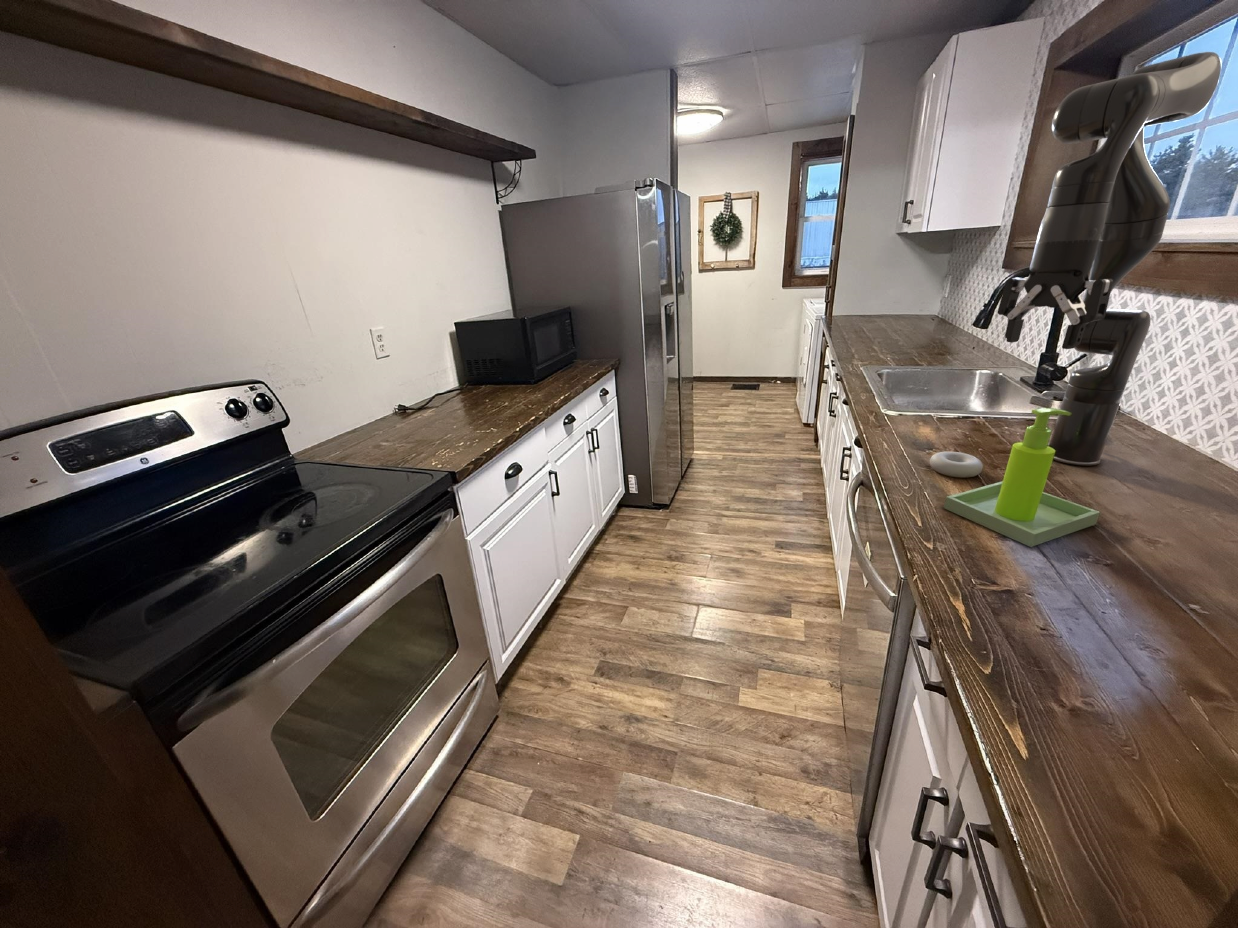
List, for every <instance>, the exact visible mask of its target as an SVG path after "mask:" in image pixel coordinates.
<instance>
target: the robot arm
mask: <svg viewBox="0 0 1238 928" xmlns="http://www.w3.org/2000/svg"><path fill="white" fill-rule="evenodd" d="M1221 72H1222V59H1221V57H1220V55H1219V54H1218V53H1216V52H1213V51H1204V52H1203V51H1201V52H1197V53H1192V54H1189V55H1183V56H1180V57H1175V58H1171V59H1168V60H1164V61H1160V62H1157V63H1156V62H1155V63H1152V64H1148V65H1144V66H1142V67H1139V68H1137V69H1135V70H1134V71H1133V72H1132V73H1131V75H1127V76H1123V77H1119V78H1114V79H1109V80H1106V81H1102V82H1097V83H1092V84H1088V85H1085V86H1080V87H1077V88H1076V89H1074V90H1073V91H1071V92H1070V93H1068V94H1067V95H1066V96H1065V97H1063V99H1062V100H1061V102H1060V103H1059V105H1058V106H1057V108H1056V109H1055V112H1054V113H1053V117H1052V121H1051V132H1052V135H1053V137H1054V139H1056V141H1058V142H1059V143H1061V144H1065V145H1074V144H1078V143H1084V142H1085V143H1086V142H1091V141H1097V140H1098V141H1099V140H1103V139H1105V140H1104V142H1103V144H1102V145H1101V146H1100V147H1099V148H1098V149H1097V150H1096V151H1095V152H1094V153H1092V154H1090V155H1088V156H1086V157H1083V158H1080V159H1077V160H1073V161H1069V162H1068V163H1065V164H1063V165H1062V166H1060V167H1059V168H1058V169H1057V171H1056V173H1055V175H1054V177H1053V181H1052V184H1051V185H1052V186H1051V190H1050V194H1049V197H1048V202H1047V205H1046V209H1045V212H1044V215H1043V217H1042V220H1041V222H1040V225H1039V229H1038V233H1037V235H1036V241H1035V245H1034V249H1033V253H1032V257H1031V261H1030V265H1029V275H1028V277H1027V278H1023V277H1012V278H1011V277H1010V278H1008V279H1007V280H1006V281H1005V285H1004V288H1003V291H1002V294H1001V299H1000V302H999V304H998V308H997V314H998V315H1000V316H1004V317H1006V318H1007V320H1008V321H1007V325H1006V329H1005V333H1004V338H1005V339H1006V340H1005V341H1006V342H1007V343H1017V342H1019V340H1020V337H1021V333H1022V330H1023V326H1024V323H1025V319H1024V317H1025V316H1026V315H1027V314H1028V313H1029V312H1031V310H1033V309H1035V308H1043V307H1047V308H1051V309H1053V308H1054V309H1058V308H1059V309H1060V310H1061V312H1062V313H1063V314H1065V315H1066V317H1067V319H1068V321H1069V323H1070V324H1067V328H1066V331H1065V335H1064V339H1063V342H1062V345H1061V349H1063V350H1073V349H1074V350H1075V351H1076V352H1080V353H1086V354H1095V355H1105V356H1112V357H1111V358H1110V360H1109V362H1107V363H1104V364H1101V365H1098V366H1093V367H1084V368H1079V369H1076V370H1073V371H1072V372H1071V373H1070V376H1069V379H1068V383H1067V384H1066V385H1067V386H1066V389H1065V392H1064V394H1063V395H1064V396H1063V399H1062V403H1061V405H1060V408H1059V409H1061V410H1064V411H1067V412H1070V413H1072V414H1071V415H1057V418H1056V422H1055V424H1054V428H1053V430H1052V433H1051V437H1050V440H1049V443H1048V445H1047V446H1049V447H1051V448H1053V449H1054V450H1055V454H1054V457H1053V461H1056V462H1059V463H1064V464H1067V465H1073V466H1081V467H1082V466H1083V467H1091V466H1097V465H1099V464H1100V463H1101V458H1102V455H1103V452H1104V449H1105V446H1106V443H1107V441H1108V438H1109V435H1110V432H1111V429H1112V427H1113V424H1114V421H1115V419H1116V416H1117V413H1118V411H1119V410H1121V401H1122V398H1123V395H1124V392H1125V390H1126V388H1127V387H1126V386H1127V384H1128V381H1129V380H1130V377H1131V374H1132V371H1133V368H1134V366H1135V364H1136V361H1137V359H1138V356H1139V353H1140V351H1141V349H1142V347H1143V345H1144V342H1145V340H1146V337H1147V335H1148V333H1149V330H1150V326H1151V320H1152V319H1151V314H1150V313H1149V312H1148V311H1147V310H1139V309H1121V308H1120V309H1118V308H1108V306H1109V301H1110V298H1111V293H1112V291H1113V290H1114V289H1115V288H1116V287H1117V286H1118V284H1119V283H1120V282H1121V281H1122V280H1123V279H1124V278H1126V276H1127V275H1128V274H1129V273H1130V272H1131V271H1133V269H1135V268H1136V267H1137V266H1138V265H1139V264H1140V263H1142V261H1143V260H1144V259H1146V258H1147V257H1148V256H1149V254H1150V253H1152V252H1153V250H1155V249H1156V247H1157V246H1158V245H1159V243H1160V241H1161V239H1162V238H1163V234H1164V230H1165V227H1166V223H1167V218H1168V215H1169V211H1170V207H1171V199H1170V196H1169V193H1168V191H1167V189H1166V187H1165V185H1164V184H1163V182H1162V180H1161V179H1160V178H1159V176H1158V175H1157V173H1156V172H1155V170H1154V169H1153V167H1152V165H1151V164H1150V161H1149V160H1148V159H1149V158H1148V156H1147V153H1146V148H1145V142H1144V141H1145V140H1144V135H1145V134H1144V133H1145V127H1149V126H1154V125H1155V126H1156V125H1161V124H1166V123H1172V122H1178V121H1182V120H1185V119H1188V118H1190V117H1193V116H1195V115H1197V114H1199V113H1200V112H1201V111H1203V110H1204V109H1205V108H1206V107H1207V106H1208V105H1209V103H1210V101H1211V100H1212V98H1213V97H1214V94H1215V93H1216V90H1217V88H1218V84H1219V81H1220V77H1221ZM1023 290H1025V292H1026V295H1024V297H1022V298H1021V299H1020V300H1019V301H1018V299H1019V297H1020V293H1021V292H1022V291H1023ZM1083 293H1084V295H1083V299H1082V296H1081V295H1082V294H1083ZM1119 404H1120V406H1119Z"/></svg>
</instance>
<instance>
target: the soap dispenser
mask: <svg viewBox="0 0 1238 928" xmlns="http://www.w3.org/2000/svg"><path fill="white" fill-rule="evenodd" d="M1030 413H1031V414H1033V415H1036V416H1035V420H1034V422H1033V423H1034V424H1032V425H1029V426H1027V427H1026V429H1025V432H1024V436H1023V440H1022V441H1019V442H1015V443H1013V444H1012V446H1011V450H1010V453H1009V458H1008V461H1007V464H1006V468H1005V471H1004V475H1003V479H1002V481H1003V482H1002V481H1001V482H1002V486H1001V490H1000V493H999V497H998V501H997V504H996V508H995V511H996V512H997V513H998V514H999V515H1001V516H1003V517H1005V518H1008V519H1012V520H1017V521H1031V520H1033V519H1034V518H1035V515H1036V512H1037V509H1038V506H1039V502H1040V499H1041V496H1042V493H1043V492H1044V489H1045V486H1046V483H1047V480H1048V477H1049V473H1050V470H1051V467H1052V463H1053V461H1054V460H1053V457H1054V454H1055V450H1054V449H1053V448H1051V447H1049V446H1048V445H1049V443H1050V440H1051V436H1052V433H1053V430H1052V429H1051V428H1049V427H1048V423H1049V419H1050V416H1056V415H1057V416H1058V415H1071V414H1072V413H1070V412H1067V411H1064V410H1061V409H1060V408H1056V407H1044V408H1036V409H1032V410H1031V412H1030Z"/></svg>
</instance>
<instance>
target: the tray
mask: <svg viewBox="0 0 1238 928" xmlns="http://www.w3.org/2000/svg"><path fill="white" fill-rule="evenodd" d="M1002 482H1003V480H1002V481H999V482H998V481H997V482H995V483H991V484H988V485H984V486H980V487H977V488H973V489H970V490H966V491H961V492H959V493H955V494H951V495H948V496H946V497H945V501H944V505H943V509H945V510H946V511H949V512H951V513H953V514H956V515H958V516H960V517H962V518H965V519H966V520H969V521H972V522H974V523H975V524H978V525H981V526H982V527H985V528H987V529H989V530H992V531H993V532H996V533H998V534H1000V535H1003V536H1005V537H1007V538H1009V539H1012V540H1014V541H1016V542H1018V543H1021V544H1023V545H1025V546H1027V547H1030V548H1033V547H1035V546H1038V545H1042V544H1044V543H1046V542H1049V541H1052V540H1055V539H1058V538H1061V537H1064V536H1067V535H1069V534H1072V533H1075V532H1078V531H1081V530H1084V529H1086V528H1089V527H1092V526H1095V525H1097V522H1098V520H1099V517H1100V514H1101V511H1098V510H1096V509H1093V508H1091V507H1088V506H1084V505H1081V504H1079V503H1076V502H1073V501H1071V500H1068V499H1065V498H1063V497H1059V496H1056V495H1054V494H1050V493H1047V492H1045V491H1043V493H1042V496H1041V499H1040V502H1039V506H1038V509H1037V512H1036V515H1035V518H1034V519H1033V520H1031V521H1017V520H1012V519H1008V518H1005V517H1003V516H1001V515H999V514H998V513H997V512H996V511H995V508H996V504H997V501H998V497H999V493H1000V490H1001V486H1002Z"/></svg>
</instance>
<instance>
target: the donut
mask: <svg viewBox="0 0 1238 928" xmlns="http://www.w3.org/2000/svg"><path fill="white" fill-rule="evenodd" d="M929 465H930V468H931V469H932V470H933V471H935V472H937V473H939V474H940V475H944V476H947V477H953V478H960V479H961V478H962V479H963V478H964V479H965V478H972V477H976V476H978V475H980V474H981V473H982V472H983V469H984V468H983V467H984V464H983V462H982V461H981V460H980V459H979V458H977V457H975V456H974V455H972V454H970V453H969V454H968V453H965V452H960V451H951V450H950V451H940V452H939V451H938V452H937V453H935V454H933V455H932V456H931V457H930V459H929Z"/></svg>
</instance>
